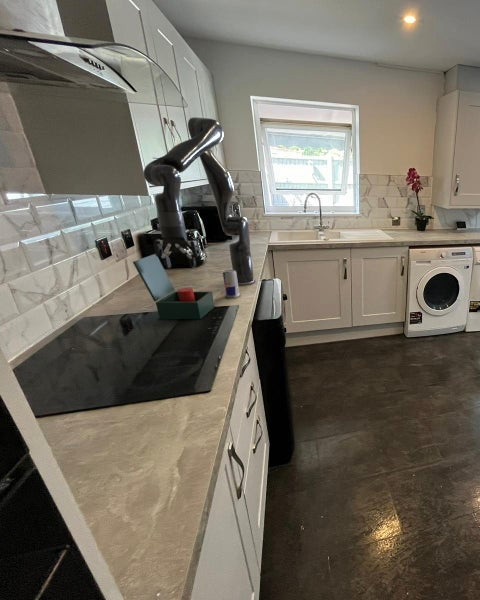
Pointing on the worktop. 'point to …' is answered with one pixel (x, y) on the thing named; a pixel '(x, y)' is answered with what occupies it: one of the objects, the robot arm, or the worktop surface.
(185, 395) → the worktop surface
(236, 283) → the energy drink
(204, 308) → the box
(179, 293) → the tin
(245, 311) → the worktop surface
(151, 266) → the lid
